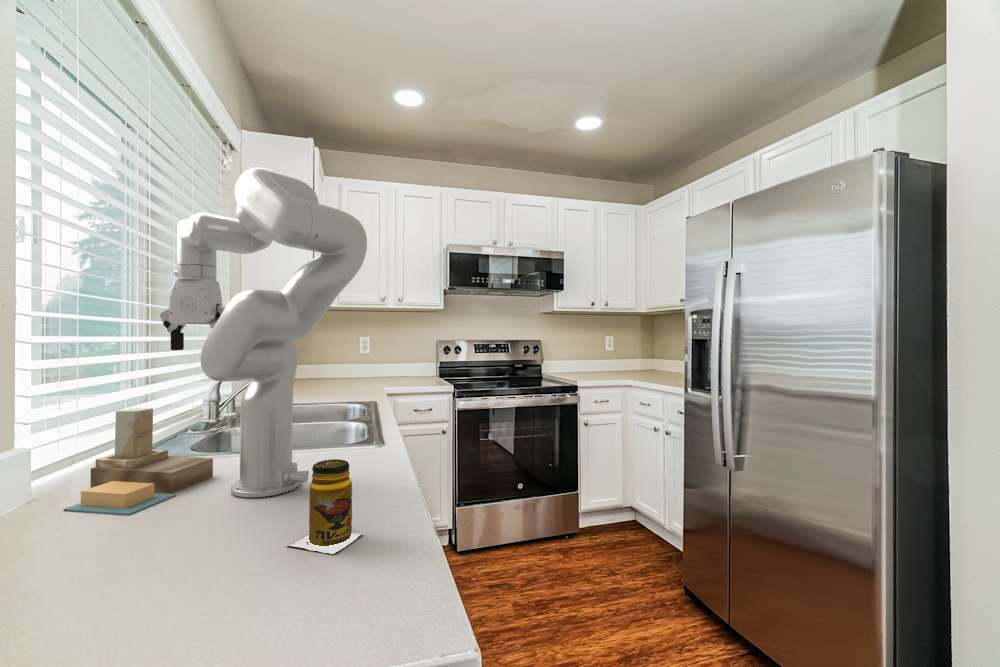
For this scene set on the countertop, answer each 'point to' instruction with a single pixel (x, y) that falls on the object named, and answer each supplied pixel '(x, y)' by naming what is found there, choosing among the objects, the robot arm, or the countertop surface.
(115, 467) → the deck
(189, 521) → the countertop surface
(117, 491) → the tan rectangular block
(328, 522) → the condiment
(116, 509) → the mat
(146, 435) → the box
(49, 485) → the countertop surface
